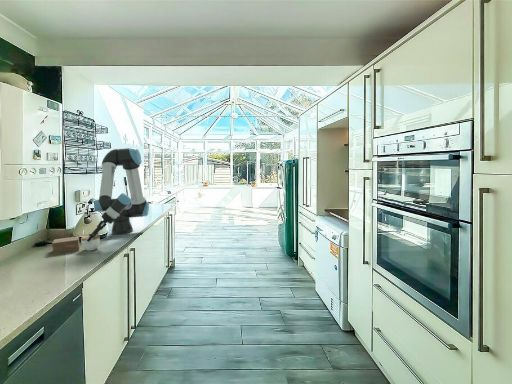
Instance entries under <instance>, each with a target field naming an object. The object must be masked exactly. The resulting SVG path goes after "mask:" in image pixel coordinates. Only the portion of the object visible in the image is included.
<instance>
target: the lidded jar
mask: <svg viewBox="0 0 512 384" xmlns="http://www.w3.org/2000/svg"><path fill="white" fill-rule="evenodd" d="M89 236H90V235H89V234H88V235H87V236H83V237H81V238H80V242H81V243H80V244H81V246H82V248H83V249H84V250H86V251H88V252H89V251H95V250H97V249H98V248H99V246H100V244H101V243H100V242H101V238H100V235H99V234H98V235H97V234H96V236H95V237H94V238H93V239H92V240H91V242H90V243H89V244H88V245H87V246H84V245H83V242H84V241H85V240H86V239H87V238H88V237H89Z"/></svg>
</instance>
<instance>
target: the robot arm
mask: <svg viewBox="0 0 512 384" xmlns="http://www.w3.org/2000/svg"><path fill="white" fill-rule="evenodd" d="M141 164H142V156H141V152H140V150H139V149H138V148H136V147H129V148H114V149H111V150H110V151H108V152H107V153H106V155H104V157H103V159H102V161H101V169H102V172H101V180H100V189H99V197H98V199H96V200H94V203H93V207H94V209H95V211H96V212H100V213H101V212H104V213H102V215H101V219H102V220H100V222H98V225H96V228H95V229H94V230H93V231H92V232H91V233H89V234H88V236H89V235H90V236H89V237H88V238H87V239H86V240H85V241H84V242H83V245H84V246H87V245H88V244H89V243H90V242H91V240H92V239H93V238H94V237H95V236H96V235H99V233H100V231H102V230H103V229H104V228H105V227H106V226H107V224H109V225H112V227H111V234H112V235H122V234H123V235H124V234H127V233H128V234H129V233H132V232H133V231H134V228H133V225H132V224H131V220H130V218H143V217H147V216H148V215H149V209H150V203H149V200H147V199H146V197H145V196H144V194H143V188H142V183H141V182H142V181H141V178H140V172H139V168H140V165H141ZM117 166H118V167H119V166H121V167H122V169H123V170H124V171H125V174H126V178H127V185H128V189H129V194H130V195H127V194H126V193H121V194H120V195H118V197H117V198H113V187H114V179H115V170H117ZM129 196H130V197H129Z"/></svg>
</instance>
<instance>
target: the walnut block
mask: <svg viewBox="0 0 512 384" xmlns="http://www.w3.org/2000/svg"><path fill="white" fill-rule="evenodd" d="M51 244H52V254H53V255H60V253H61V254H68V253H72V252H74V251H75V252H80V248H81V243H80V236H71V237H69V236H68V237H61V238H55V239H53V241H52V243H51ZM67 252H68V253H67ZM75 252H74V253H75Z"/></svg>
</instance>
